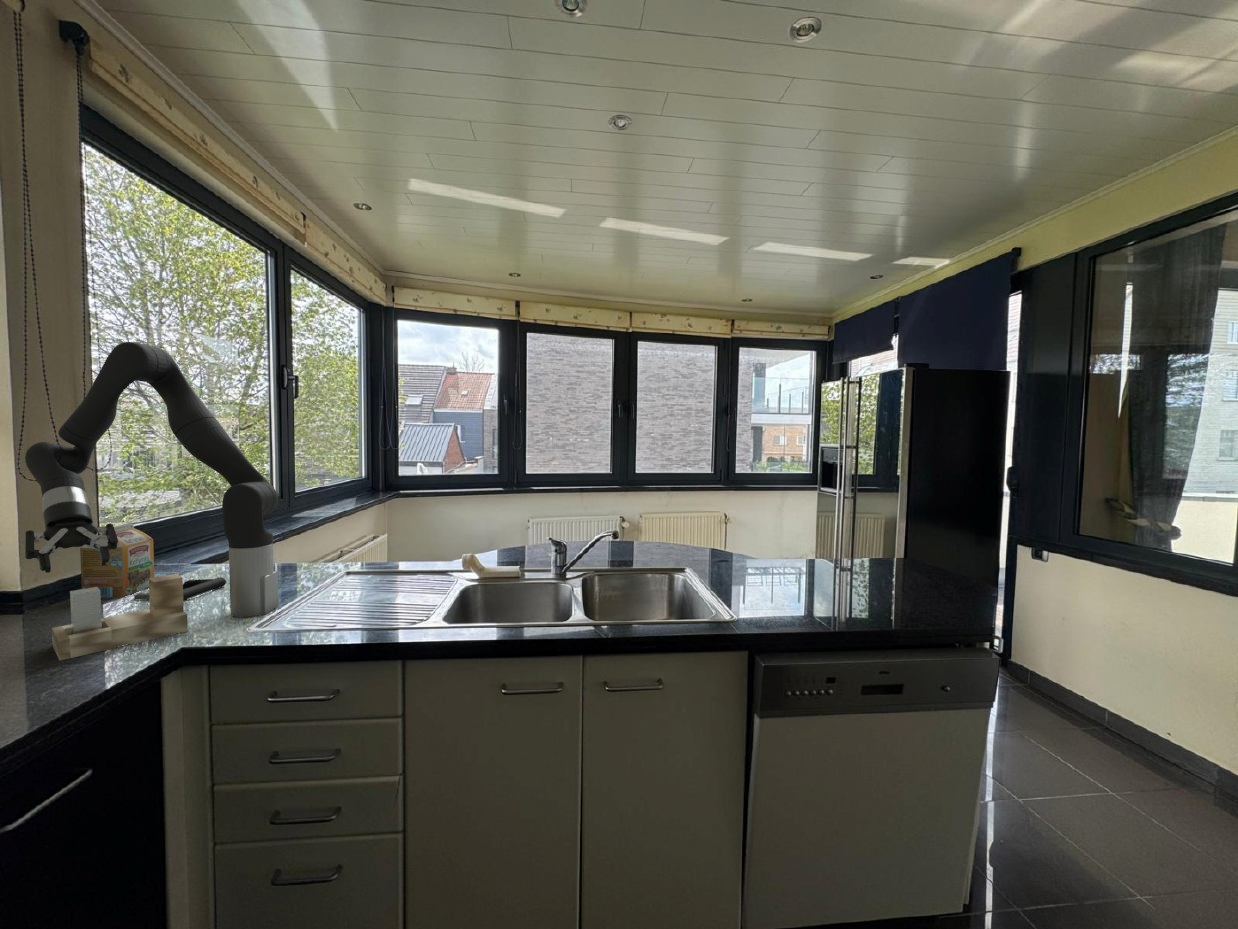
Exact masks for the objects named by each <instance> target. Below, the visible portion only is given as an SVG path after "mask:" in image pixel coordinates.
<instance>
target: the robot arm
mask: <svg viewBox="0 0 1238 929" xmlns="http://www.w3.org/2000/svg"><path fill="white" fill-rule="evenodd" d="M136 381H137V382H144V383H147V384H148V385H150V386H151V387H152V388H153V389H154V390H155V391H156V393H157V394H158V395H159V396H160V397H161V399H162V400H163V401H164V404H165V406H166V410H167V420H168V425H169V428H170V431H171V432H172V433H173V435H174V436H175V438H176V439H177V440H178V441H179V443H180V444H181V445H182V447H183V448H184V449H185V450H186V451H187V452H188V453H189V454H190V455H192V456H193V458H195V459H196V460H198V461H199V462H201V463H203V464H204V465H205V466H207V467H209V468H210V469H212V470H214V471H215V472H216V473H218V474H219V475H220V476H221V477H223V478H224V480H225V481H227V483H228V484H229V485H230V486H229V488H228V489H226V490H225V492H224V494H223V498H222V503H221V504H222V508H221V511H222V512H221V513H222V521H223V523H222V524H223V531H224V536H225V538H226V539H227V543H228V569H229V572H228V573H229V574H228V575H229V577H228V578H229V604H230V605H229V606H230V607H229V608H230V616H232V617H236V618H237V617H239V618H245V617H254V616H260V615H267V614H269V613H270V612H271V611H273V610H275V609H276V607H277V608H278V607H279V587H278V586H279V584H278V582H279V580H278V576H279V575H278V571H277V570H275V569H274V568H275V566H274V563H275V562H274V534H273V533H272V531H270V530H267V529H266V528H265V524H264V516H267V515H270V514H272V513H273V512H275V511H276V509H277V508H278V505H279V494H278V493H277V492H278V491H276V489H275V487H274V486H273V485H272V483H270V482H269V481H268V479H267V478H266V477H265V476H263V474H261V472H260V471H259V470H258V469H256V468H255V466H254V465H253V464H252V463H251V462H250V461H249V460H248V459H247V457H246V456H245V454H244V453H243V452H242V450H240V448H239V447H238V445H237V444H236V443H235V442H234V440H233V439H232V438H231V436H229V434H228V433H227V432H226V430H225V428H224V427H223V426H222V424H221V423H220V422H219V420H218V419H217V418H216V417H215V416H214V415H213V413H212V412H211V411H210V410H209V408H207V406H206V405H205V403H204V402H203V401H202V400H201V398H200V397H199V396H198V394H197V393H196V392H195V391H194V389H193V388H192V386H191V385H190V383H189V382H188V380H187V378H186V377H185V375H184V374H183V372H182V370H181V369H180V367H179V366H178V364H177V362H176V361H175V359H174V358H173V356H172V355H170V353H169V352H167V351H166V350H165V349H163V348H161V347H159V346H155V345H149V344H145V343H140V342H134V341H125V342H121V343H119V344H117V345H116V346H114V347H113V349H112V350H111V351H110V353H109V354H108V356H107V357H106V358H105V361H104V363H103V364H102V367H101V368H100V370H99V372H98V374H97V375H96V377H95V379H94V382H93V383H92V385H91V386H90V389H89V390H88V392H87V393H86V395H85V397H84V398H83V400H82V401H81V402H80V404H79V405H78V406H77V408H75V410H74V411H73V412H72V414H71V415H70V416H69V417H68V418H67V419H66V420H65V422H64V423H63V424H62V426H60V428H59V430H58V433H57V434H58V436H59V437H60V438H61V439H62V440H63V441H65V442H67V443H69V444H70V445H72V446H73V447H71V446H66V445H63V444H58V443H53V442H50V441H49V442H48V441H40V442H36V443H34V444H32V445H30V447H29V448H27V450H26V452H25V456H24V459H25V465H26V468H27V469H28V471H29V472H30V473H31V475H32V477H33V478H34V479H35V480H36V483H38V485H39V486H40V490H41V491H40V492H41V497H42V501H41V508H42V511H41V512H42V513H41V514H42V515H43V522H44V527H45V528H44V529H45V530H44V531H43V532H42V531H41V532H35V531H33V530H30V529H29V530H26V531H25V535H24V536H25V537H24V539H25V540H24V543H25V544H24V545H25V546H24V550H25V552H24V554H25V555H24V556H25V559H27V560H32V559H36V560H38V563H39V564H38V565H39V569H40V571H41V572H43V571H44V572H45V574H49V573H51V569H52V567H51V566H52V565H51V558H50V556H51V555H52V554H54V553H55V552H57V550H58V549H59V548H61V549H69V548H70V549H71V548H80V547H82V546H83V545H86V546H88V547H90V548H91V549H93V548H94V549H96V550H98V551H99V557H100V562H101V566H102V565H106V563H107V562H109V559H110V555H109V550H110V549H116V548H117V544H118V538H117V535H116V532H115V529H114V527H115V526H114V524H113V523H107V524H106V525H104V526H96V525H95V524H94V521H93V515H92V511H91V510H92V509H91V506H90V501H89V498H88V496H87V494H86V493H87V492H86V489H85V488H86V487H85V483H84V480H83V478H82V476H81V475H80V474H82V473H83V472H85V471H86V469H87V468H88V466H89V463H90V460H91V457H92V454H93V452H94V449H95V447H96V446H97V443H98V441H99V440H100V439H101V438H102V437H103V436H104V435H105V433H106V432H107V431H108V430H109V429H110V427H112V425H113V423H114V421H115V419H116V416H117V410H118V402H119V399H120V396H121V395H122V394H123V392H124V391H125V390H126V389H127V388H129V386H130V385H131V384H133V383H134V382H136ZM98 533H99V534H100V533H101V534H102V535H103V536H106V537H107V540H108V542H105V541H103V540H101V539H100V538H99V537H98V536H99V535H97V534H98ZM41 539H44V540H45V541H47V542H46V543H45V545H43V547H41V548H40V549H35V544H37V543H39V541H40V540H41ZM90 540H91V541H90ZM274 608H275V609H274Z"/></svg>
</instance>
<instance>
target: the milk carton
mask: <svg viewBox="0 0 1238 929" xmlns="http://www.w3.org/2000/svg"><path fill="white" fill-rule="evenodd" d="M134 525H135V524H134V523H127V524H122V525H116V526H114V529H115V532H116V535H117V538H118V544H117V548H116V549H110V550H109V555H110V559H109V562H107V563H106V565H102V566H101V562H100V557H99V551H98V550H96V549H94V548H93V549H91V548H90V547H88V546H86V545H83V546H82V547H79V549H80V550H79V553H80V554H79V555H80V576H81V578H80V579H81V589H87V588H93V587H98V588H99V589H100V593H101V599H112V598H111V597H125V596H127V595H130V596H133V595H135V594H134V593H136V592H139V591H141V590H143V589H147V590H149V589H148V588H149V578H154V577H156V576H155V561H154V560H155V553H154V552H155V550H154V539H153V538H152V537H151V536H149V535H148V534H146V533H145V532H143V531H141V530H139V529H136V528H135V526H134ZM97 536H98V537H99V538H100V539H101V540H103V541H105V542H108V540H107V537H106V536H103V535H102V534H101V533H99V535H97ZM90 541H91V540H90ZM141 592H142V591H141ZM139 593H140V592H139ZM132 594H133V595H132ZM136 594H137V593H136ZM125 598H126V597H125Z"/></svg>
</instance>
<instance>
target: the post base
mask: <svg viewBox="0 0 1238 929" xmlns="http://www.w3.org/2000/svg"><path fill="white" fill-rule="evenodd" d="M183 584H184V580H183V576H181V575H179V574H178V573H175V574H167V575H162V576H155V577H154V578H149V589H148V593H149V600H148V601H149V608H148V609H144V610H142V609H141V610H138V611H137V610H136V611H134V612H133V611H132V612H128V613H123V614H117V615H111V616H106V617H103V618H102V617H101V618H102V629H98V630H93V631H88V632H83V633H78V634H73V635H72V624H71V623H70V624H65V625H60V626H55V627H51V636H52V638H51V639H52V641H51V642H52V648H53V650H54V652H55V654H56V656H57V658H58V661H64V660H68V659H73V658H77V657H80V656H81V657H82V656H86V655H91V654H95V653H98V652H99V653H100V652H103V651H108V650H112V649H117V648H119V647H118V646H121V647H123V646H122V645H126V644H130V645H134V644H138V642H139V643H143V642H147V641H151V640H150V639H152V640H155V639H154V638H156V639H160V638H164V636H165V637H168V636H167V635H169V636H172V635H171V634H174V635H177V634H176V633H178V634H181V633H180V632H182V633H185V632H186V633H187V632H188V631H189V628H188V627H189V625H188V624H189V622H188V613H187V612H185V611H184V607H185V605H184V601H183ZM142 641H143V642H142ZM126 646H127V645H126ZM116 647H117V648H116Z"/></svg>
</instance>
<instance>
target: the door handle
mask: <svg viewBox="0 0 1238 929" xmlns="http://www.w3.org/2000/svg"><path fill="white" fill-rule="evenodd" d="M226 584H227V580H226V578H225V577H221V576H219V577H215V578H207V579H206V578H205V579H203V578H202V579H199V578H198V579H189V580H186V581H185V582H183V602H184V600H188V599H190V598H192V597H195V596H197V595H201V594H203V593H206V592H209V591H211V590H213V589H215V590H217V588H218V589H220V588H223V587H224V586H225V585H226ZM222 586H223V587H222ZM219 587H220V588H219ZM213 591H214V590H213ZM133 598H134V599H149V592H139V593H136V594H133ZM188 601H189V600H188Z"/></svg>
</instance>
